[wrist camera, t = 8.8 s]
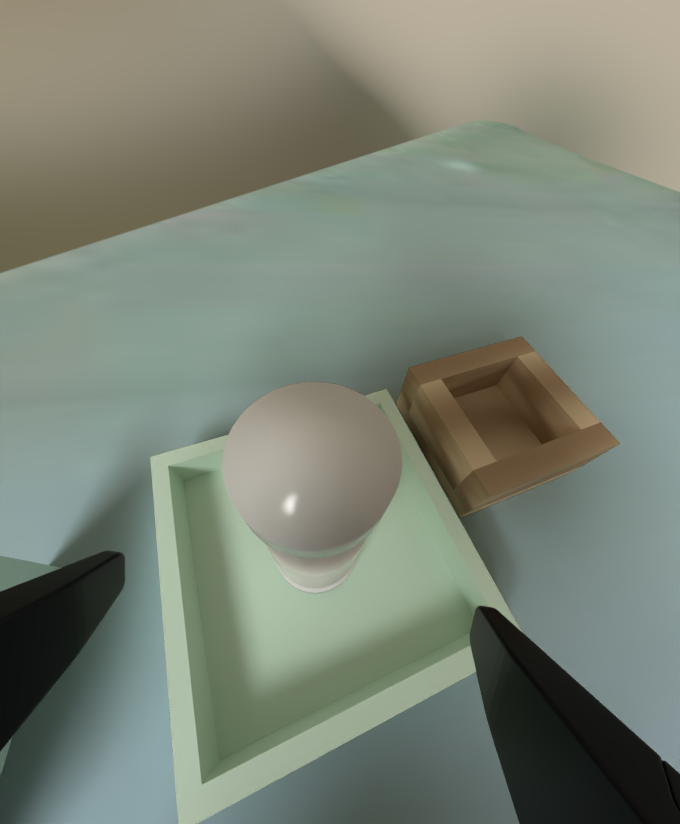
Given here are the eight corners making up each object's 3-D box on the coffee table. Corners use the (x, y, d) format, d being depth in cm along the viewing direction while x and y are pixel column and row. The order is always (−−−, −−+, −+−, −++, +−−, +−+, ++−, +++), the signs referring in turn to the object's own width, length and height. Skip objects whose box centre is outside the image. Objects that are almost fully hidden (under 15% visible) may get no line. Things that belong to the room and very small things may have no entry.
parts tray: (495, 639, 16) (528, 643, 13) (208, 790, 13) (179, 833, 10) (379, 414, 22) (386, 388, 20) (173, 477, 19) (150, 457, 17)
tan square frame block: (571, 472, 21) (620, 443, 17) (459, 518, 19) (489, 496, 15) (494, 374, 25) (521, 336, 21) (396, 404, 23) (409, 367, 19)
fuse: (373, 555, 17) (439, 467, 8) (306, 614, 15) (287, 593, 6) (325, 492, 18) (330, 359, 9) (260, 539, 17) (190, 434, 8)
